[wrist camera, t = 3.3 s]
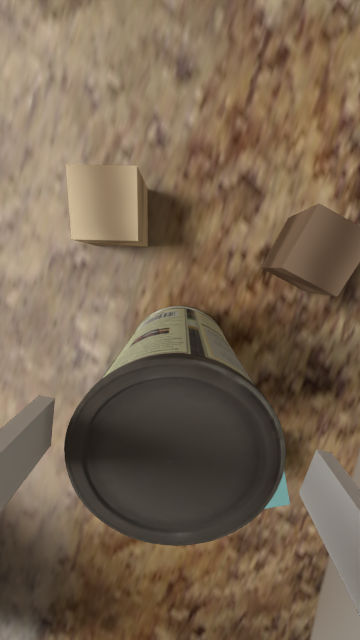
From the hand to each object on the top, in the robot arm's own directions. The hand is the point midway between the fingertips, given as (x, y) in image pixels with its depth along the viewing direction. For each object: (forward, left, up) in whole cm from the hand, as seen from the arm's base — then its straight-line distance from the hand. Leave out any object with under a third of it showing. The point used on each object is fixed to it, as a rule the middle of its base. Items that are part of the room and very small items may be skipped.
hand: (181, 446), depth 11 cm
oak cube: (-8, +12, -13) cm, 20 cm away
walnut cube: (+9, +12, -13) cm, 20 cm away
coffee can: (0, 0, -13) cm, 13 cm away
